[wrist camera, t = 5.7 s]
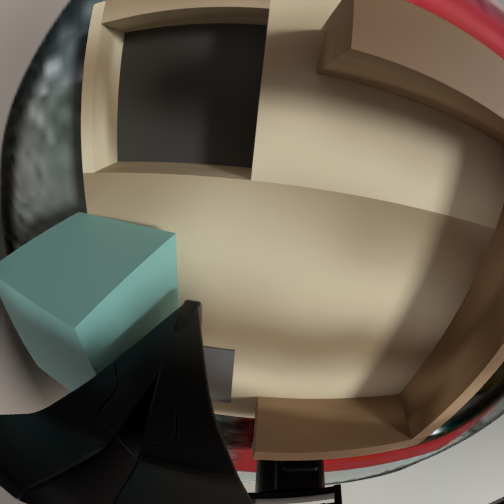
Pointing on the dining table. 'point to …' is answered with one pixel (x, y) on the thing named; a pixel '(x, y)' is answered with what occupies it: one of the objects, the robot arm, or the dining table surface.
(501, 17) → the dining table surface
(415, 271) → the board
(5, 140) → the dining table surface
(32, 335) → the block
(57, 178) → the dining table surface
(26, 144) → the dining table surface
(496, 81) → the cubby
